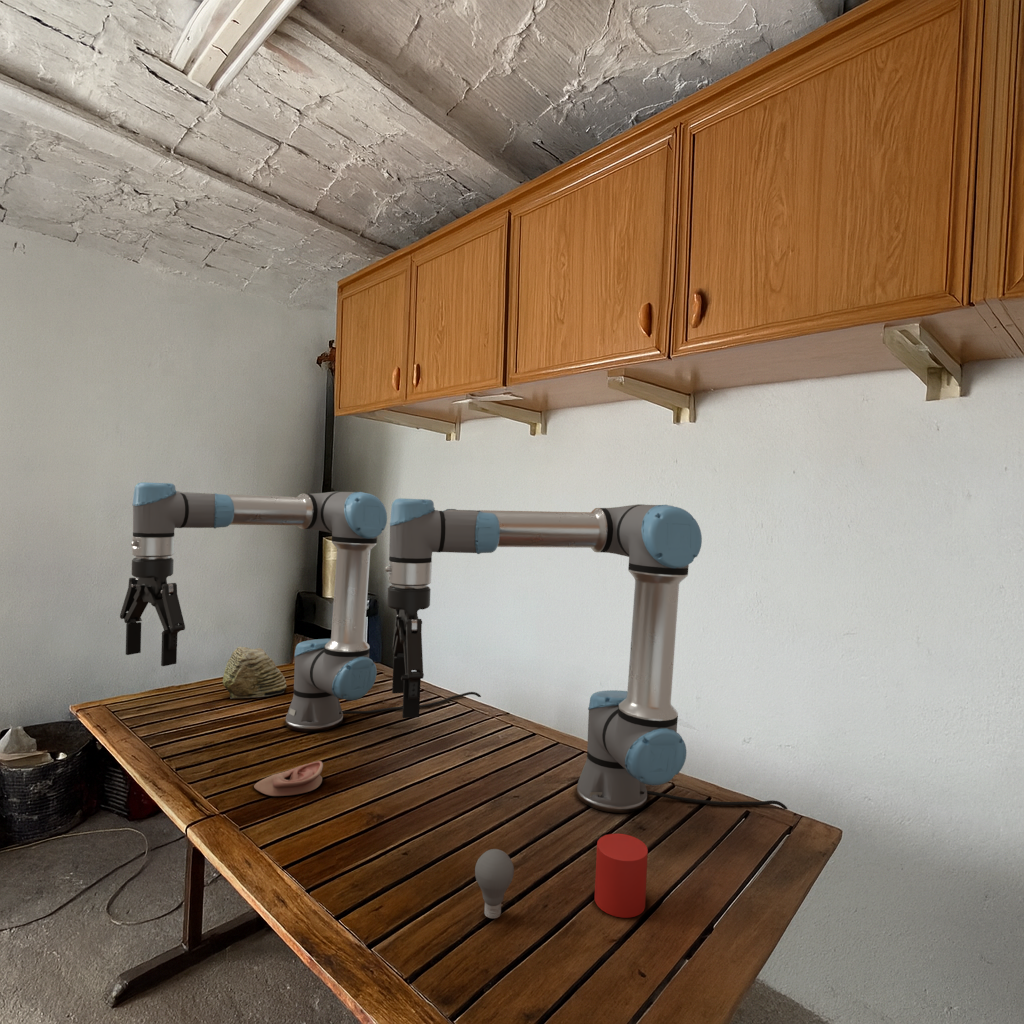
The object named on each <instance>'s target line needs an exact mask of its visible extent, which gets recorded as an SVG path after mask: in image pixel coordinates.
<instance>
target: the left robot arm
mask: <svg viewBox="0 0 1024 1024" xmlns="http://www.w3.org/2000/svg"><path fill="white" fill-rule="evenodd" d="M387 523H388V513H387V509H386V506H385V505H384V503H383V502H382V501H381V499H380V498H379V497H378V496H377V495H374V494H372V493H367V492H363V491H337V490H336V491H327V492H317V493H300V494H298V495H297V496H285V495H284V496H283V495H282V496H281V495H259V494H257V495H256V494H237V493H215V492H214V493H212V492H188V491H187V492H186V491H177V490H176V485H175V484H174V483H171V482H170V483H169V482H146V481H145V482H141V481H140V482H138V483H137V484H136V485H135V486H134V491H133V499H132V541H131V542H130V545H131V547H132V548H131V550H132V551H131V554H132V556H133V557H134V558H132V559H131V576H132V577H129V578H128V584H127V585H128V586H127V590H126V594H125V597H124V601H123V603H122V607H121V611H120V614H119V618H120V620H123V621H124V623H125V632H126V633H125V655H126V656H130V655H135V654H142V653H141V652H142V649H141V648H142V621H143V619H142V615H143V614H144V612H145V610H146V608H147V606H148V604H150V605H151V606H152V607H154V608H155V611H156V613H157V616H158V618H159V621H160V623H161V626H162V629H163V630H162V631H161V652H160V653H161V656H160V658H161V659H160V662H161V663H160V666H161V667H167V666H172V665H176V664H177V661H178V659H177V656H178V633H179V632H182V631H185V630H186V624H185V621H184V615H183V611H182V608H181V604H180V600H179V595H178V585H177V582H169V583H168V578H169V577H172V576H173V575H174V559H173V555H175V529H207V528H208V529H217V528H227V527H229V526H230V525H231V526H233V525H234V526H235V525H237V526H296V527H297V528H298V529H300V530H312V531H313V530H314V531H320V532H325V533H330V534H331V543H332V545H333V546H334V547H335V548H336V561H335V575H334V589H333V604H332V620H331V634H330V638H318V639H308V640H304V641H300V642H299V643H297V644H296V646H295V650H294V655H293V657H294V672H293V673H294V674H293V695H292V696H293V697H292V699H291V702H290V704H289V708H288V711H287V713H286V715H285V726H286V728H287V729H289V730H291V731H294V732H295V731H296V732H301V733H316V732H325V731H329V730H332V729H335V728H337V727H339V726H340V725H342V723H343V722H344V715H368V714H376V713H383V712H387V711H388V712H389V711H398V710H399V711H400V710H403V706H390V707H385V708H384V707H383V708H379V709H371V710H343V709H342V706H341V702H340V700H344V701H350V702H351V701H357V700H359V699H361V698H363V697H364V696H366V695H367V694H368V692H369V691H370V690H371V689H372V688H373V686H374V685H375V682H376V680H377V675H378V671H377V666H376V664H375V662H374V660H373V659H371V658H370V650H371V649H370V644H369V643H368V642H367V641H366V639H365V636H366V623H367V622H366V621H367V607H368V591H369V576H370V564H371V563H370V562H371V561H370V560H371V551H372V549H373V548H375V546H377V544H378V536H381V534H382V533H383V531H384V530H386V526H387ZM469 695H473V696H476V697H478V698H481V697H482V695H481V694H480V693H478V692H476V691H468V692H464V693H460V694H456V695H452V696H449V697H446V698H444V699H441V700H438V701H434V702H430V703H425V704H420V709H422V708H428V707H433V706H437V705H440V704H443V703H446V702H448V701H451V700H454V699H458V698H462V697H466V696H469Z"/></svg>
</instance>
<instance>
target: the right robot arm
mask: <svg viewBox="0 0 1024 1024" xmlns="http://www.w3.org/2000/svg"><path fill="white" fill-rule="evenodd" d="M390 509H391V510H390V521H389V541H388V542H389V544H388V545H389V546H388V547H389V548H388V549H389V550H388V560H389V561H388V564H389V566H385V568H384V571H385V573H388V579H387V582H388V583H389V584H390V585H389V586H388V587H387V595H386V596H387V600H386V604H387V608H389V609H392V610H395V620H394V628H393V629H394V630H393V637H392V646H391V651H392V656H393V658H392V659H393V660H392V687H391V689H392V690H391V693H392V694H402V696H403V697H402V707H403V709H402V714H401V715H402V719H413V718H420V710H421V708H420V705H421V683H422V681H421V680H423V679H424V676H425V674H424V662H423V661H424V660H423V658H424V657H423V636H422V631H423V630H422V628H423V627H422V625H423V619H422V618H419V616H418V612H419V611H420V610H426V609H428V608H430V606H431V590H432V589H431V588H430V586H429V585H430V584H432V572H433V571H432V570H433V557H432V556H433V553H455V554H459V553H460V554H477V555H480V554H492V553H494V552H495V551H497V549H498V548H564V549H565V548H569V549H570V548H572V549H574V548H575V549H577V548H578V549H579V548H580V549H583V548H584V549H585V548H586V549H591V550H592V551H593V552H594V553H604V554H605V553H606V554H607V553H608V554H614V555H619V556H623V557H628V567H627V568H628V569H627V570H628V572H629V573H630V575H631V576H632V577H633V578H634V592H633V606H632V607H633V608H632V621H631V633H630V634H631V635H630V647H629V648H630V649H629V664H628V677H627V678H628V679H627V690H618V689H617V690H611V689H610V690H609V689H608V690H600V691H596V692H594V693H592V694H591V695H590V697H589V704H588V708H587V710H588V718H587V719H588V720H587V721H588V722H587V744H586V745H587V746H586V748H587V749H586V761H585V762H584V764H583V768H582V771H581V772H580V776H579V778H578V781H577V784H576V785H577V786H576V795H577V798H578V799H579V800H580V802H582V803H584V804H585V805H587V806H588V807H591V808H592V809H595V810H599V811H602V812H606V813H613V814H614V813H616V814H624V813H625V814H627V813H632V812H637V811H639V810H641V809H643V808H644V807H645V806H646V805H647V804H648V795H649V796H655V797H661V798H665V799H670V800H675V801H680V802H686V803H687V802H688V803H694V804H703V805H714V806H766V805H778V806H779V807H781V808H782V809H783V810H788V809H789V808H788V807H787V805H785V803H783V802H781V801H778V800H774V799H773V800H763V801H762V800H761V801H749V800H748V801H747V800H745V801H717V800H708V799H707V800H705V799H698V798H690V797H683V796H677V795H673V794H667V793H664V792H663V793H662V792H657V791H652V790H648V789H647V786H660V785H665V784H667V783H669V782H671V781H672V780H673V779H674V777H675V776H676V775H679V773H680V772H681V770H682V769H683V767H684V765H685V762H686V761H687V760H686V759H687V746H686V742H685V740H684V739H683V737H682V736H681V734H680V733H679V732H678V722H679V721H678V717H679V711H677V709H676V708H675V706H673V704H672V691H673V678H674V676H673V675H674V663H675V649H676V638H677V637H676V635H677V623H678V622H677V621H678V608H679V606H678V605H679V591H680V585H681V582H683V581H684V580H685V579H686V578H687V577H688V576H689V567H690V564H691V563H693V562H694V560H695V559H696V558H697V557H698V556H699V554H700V551H701V548H702V543H703V537H702V531H701V528H700V525H699V523H698V521H697V520H696V518H694V516H693V515H692V514H691V513H690V512H688V511H687V510H686V509H683V508H682V507H678V506H674V505H670V504H641V503H640V504H629V505H623V506H615V507H595V508H594V509H592V511H590V512H589V511H539V510H538V511H537V510H535V511H534V510H533V511H532V510H530V511H529V510H489V509H488V510H486V509H485V510H484V509H479V510H476V509H456V508H446V509H445V510H438V509H436V508H435V504H434V501H433V500H432V499H425V498H424V499H422V498H401V497H400V498H396V499H394V500H393V502H392V504H391V508H390Z"/></svg>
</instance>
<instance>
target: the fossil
mask: <svg viewBox="0 0 1024 1024" xmlns="http://www.w3.org/2000/svg"><path fill="white" fill-rule="evenodd" d="M222 676H223V677H222V685H223V687H224V688H225V690H226V691H228V693H229V698H230V699H250V698H264V697H271V696H275V695H281V694H284V693H285V691H286V689H287V687H288V686H287V680H286V678H285V676H284V674H283V673H282V672H281V669H279V668H278V667H277V665H276V663H275V662H274V660H273V659H272V658H271V657H270V656H269V655H268V654H267V653H266V652H265V650H264V649H263V648H260V647H258V648H251V647H247V646H246V647H245V646H238V647H237V648H236V649H235V650H233V651H232V653H231V656H230V657H229V659H228V660H227V663H226V666H225V668H224V671H223V675H222Z"/></svg>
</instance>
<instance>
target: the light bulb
mask: <svg viewBox="0 0 1024 1024" xmlns="http://www.w3.org/2000/svg"><path fill="white" fill-rule="evenodd" d="M514 874H515V867H514V863H513V861H512V859H511V857H510V856H509V855H508V854H507V853H506V852H505V851H503V850H501V849H498V848H491V849H487V850H486V851H484V852H483V853H482V854H481V855H480V856H479V857H478V859H477V861H476V863H475V867H474V876H475V880H476V882H477V884H478V886H479V888H480V890H481V893H482V899H483V901H484V910H483V911H484V912H483V914H484V916H485V917H487V918H489V919H498V918H499V917H501V914H502V903H503V901H504V898H505V893H506V891H507V890H508V888H509V887H510V885H511V883H512V882H513V879H514V876H515V875H514Z"/></svg>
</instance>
